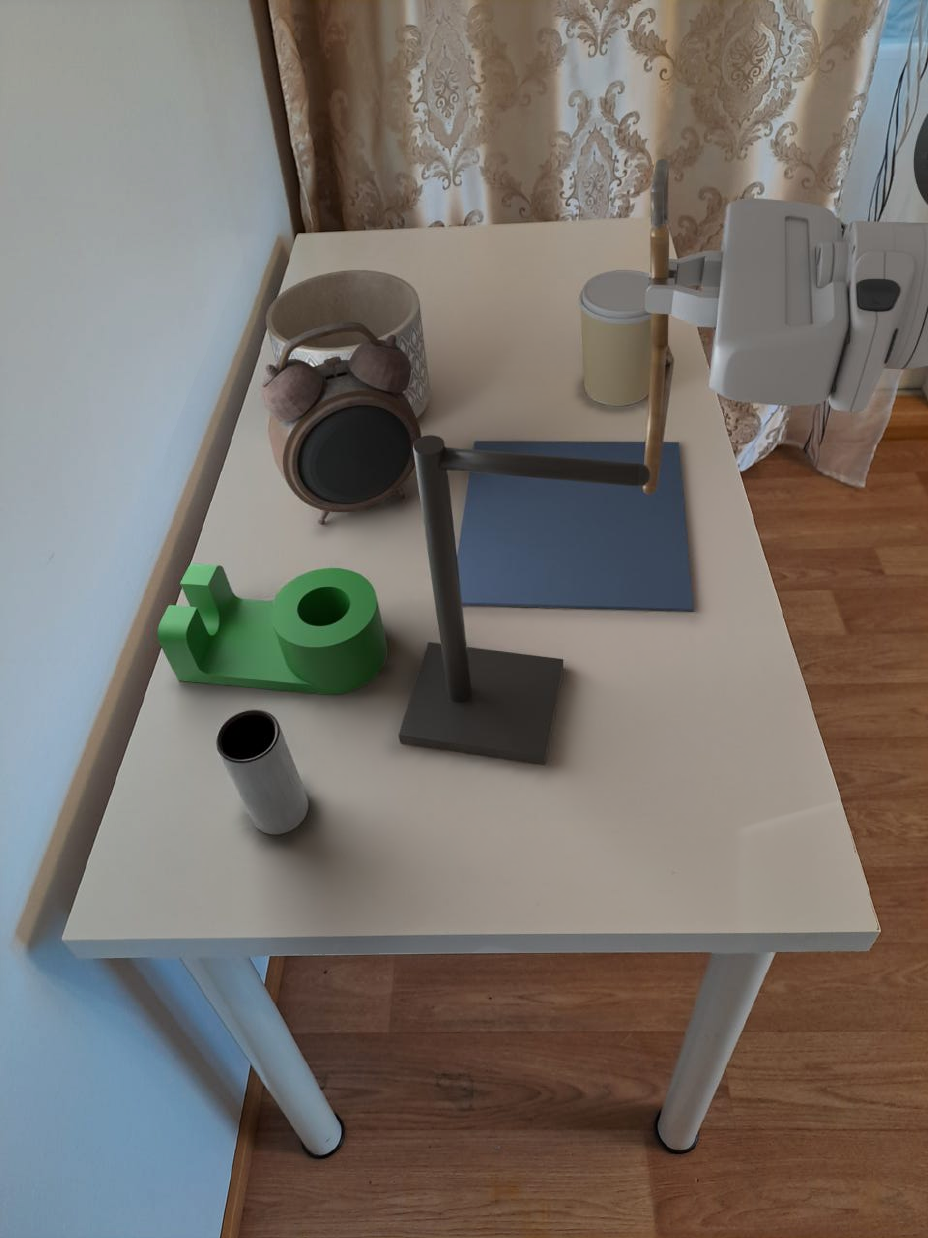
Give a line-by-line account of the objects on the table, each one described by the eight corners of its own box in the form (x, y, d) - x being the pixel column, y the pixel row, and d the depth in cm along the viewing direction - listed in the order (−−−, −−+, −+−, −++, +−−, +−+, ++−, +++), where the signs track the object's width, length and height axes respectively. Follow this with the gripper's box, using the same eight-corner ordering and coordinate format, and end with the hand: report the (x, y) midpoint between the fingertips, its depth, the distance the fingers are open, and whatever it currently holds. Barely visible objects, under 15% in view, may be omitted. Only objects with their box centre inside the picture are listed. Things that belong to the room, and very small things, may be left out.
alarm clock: (302, 545, 91) (253, 373, 76) (285, 502, 95) (235, 332, 80) (437, 502, 93) (416, 328, 79) (414, 463, 98) (390, 291, 83)
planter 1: (262, 845, 69) (226, 773, 61) (243, 799, 72) (207, 725, 64) (317, 818, 70) (289, 744, 62) (297, 775, 73) (267, 699, 65)
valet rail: (630, 676, 77) (658, 412, 57) (617, 776, 71) (644, 519, 50) (429, 650, 80) (389, 393, 60) (399, 743, 74) (343, 491, 54)
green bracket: (396, 620, 83) (387, 571, 78) (374, 699, 77) (362, 651, 72) (213, 605, 86) (193, 557, 81) (178, 680, 80) (154, 633, 75)
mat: (678, 444, 97) (678, 441, 97) (692, 611, 81) (693, 608, 81) (474, 443, 100) (474, 440, 99) (450, 605, 84) (450, 602, 84)
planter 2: (283, 383, 110) (258, 286, 100) (414, 356, 112) (401, 258, 102) (301, 465, 99) (274, 364, 90) (445, 433, 101) (434, 331, 92)
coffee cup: (656, 363, 107) (666, 267, 98) (660, 410, 101) (671, 312, 92) (577, 363, 108) (580, 268, 99) (576, 410, 102) (578, 313, 93)
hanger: (675, 362, 74) (679, 116, 61) (657, 497, 64) (657, 234, 50) (661, 362, 75) (661, 117, 61) (640, 497, 64) (635, 236, 50)
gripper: (867, 176, 63) (665, 171, 65) (890, 336, 50) (636, 321, 52) (845, 263, 67) (657, 255, 70) (860, 430, 54) (628, 412, 57)
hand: (647, 285), depth 61 cm, fingers closed on hanger, 1 cm apart
